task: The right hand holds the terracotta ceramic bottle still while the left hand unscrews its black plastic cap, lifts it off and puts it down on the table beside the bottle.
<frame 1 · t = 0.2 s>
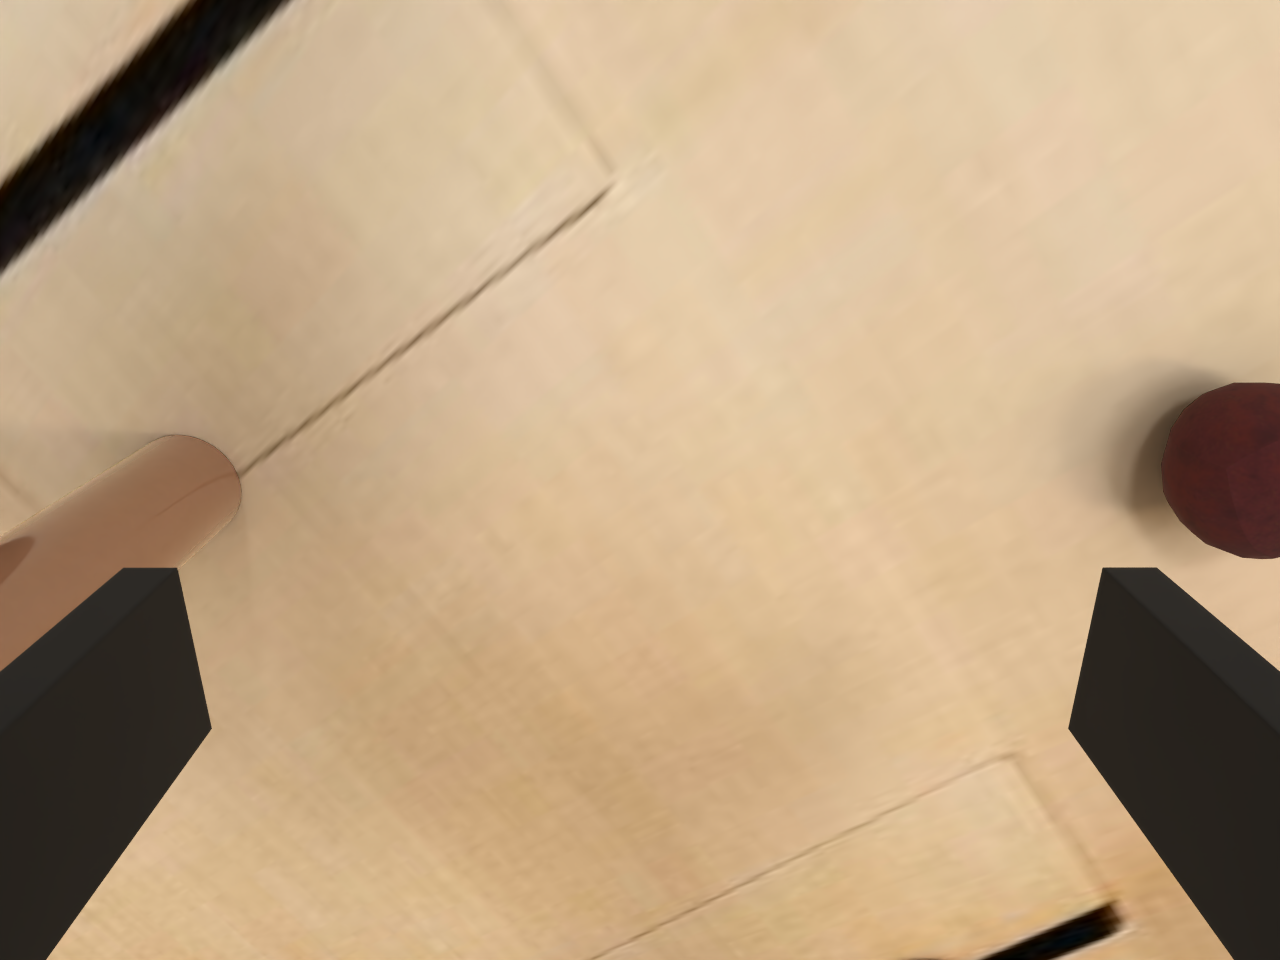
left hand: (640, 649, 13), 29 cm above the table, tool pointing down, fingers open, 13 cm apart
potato: (1205, 440, 42), on the table
bottle: (187, 485, 43), on the table
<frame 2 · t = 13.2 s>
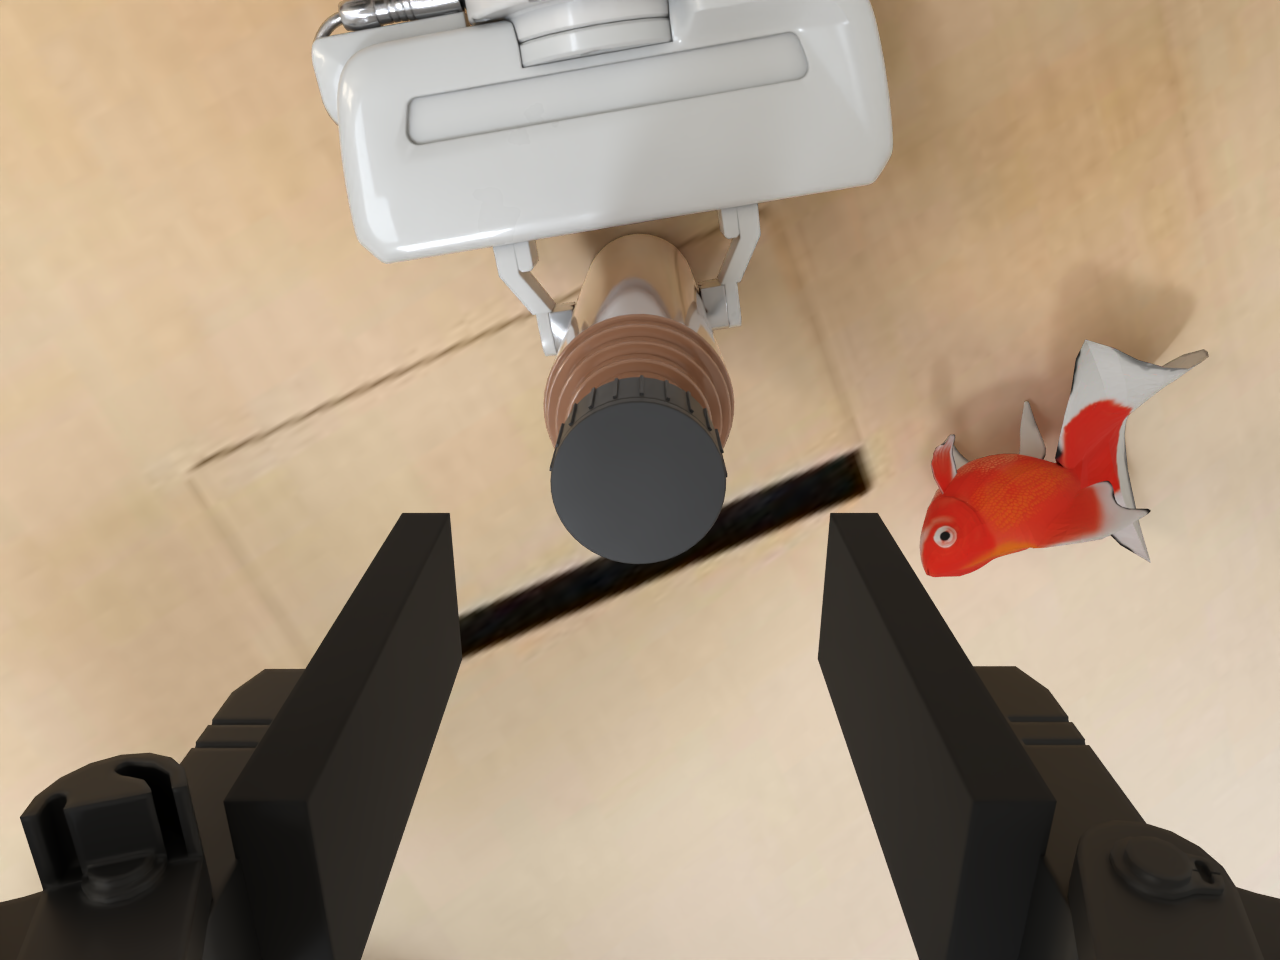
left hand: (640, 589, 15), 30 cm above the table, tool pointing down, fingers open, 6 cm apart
right hand: (644, 338, 36), fingers closed on bottle, 5 cm apart
cap: (638, 480, 19), point 25 cm above the table, screwed on, not yet turned
bottle: (639, 289, 42), on the table, touching right hand
fish: (1025, 428, 45), on the table
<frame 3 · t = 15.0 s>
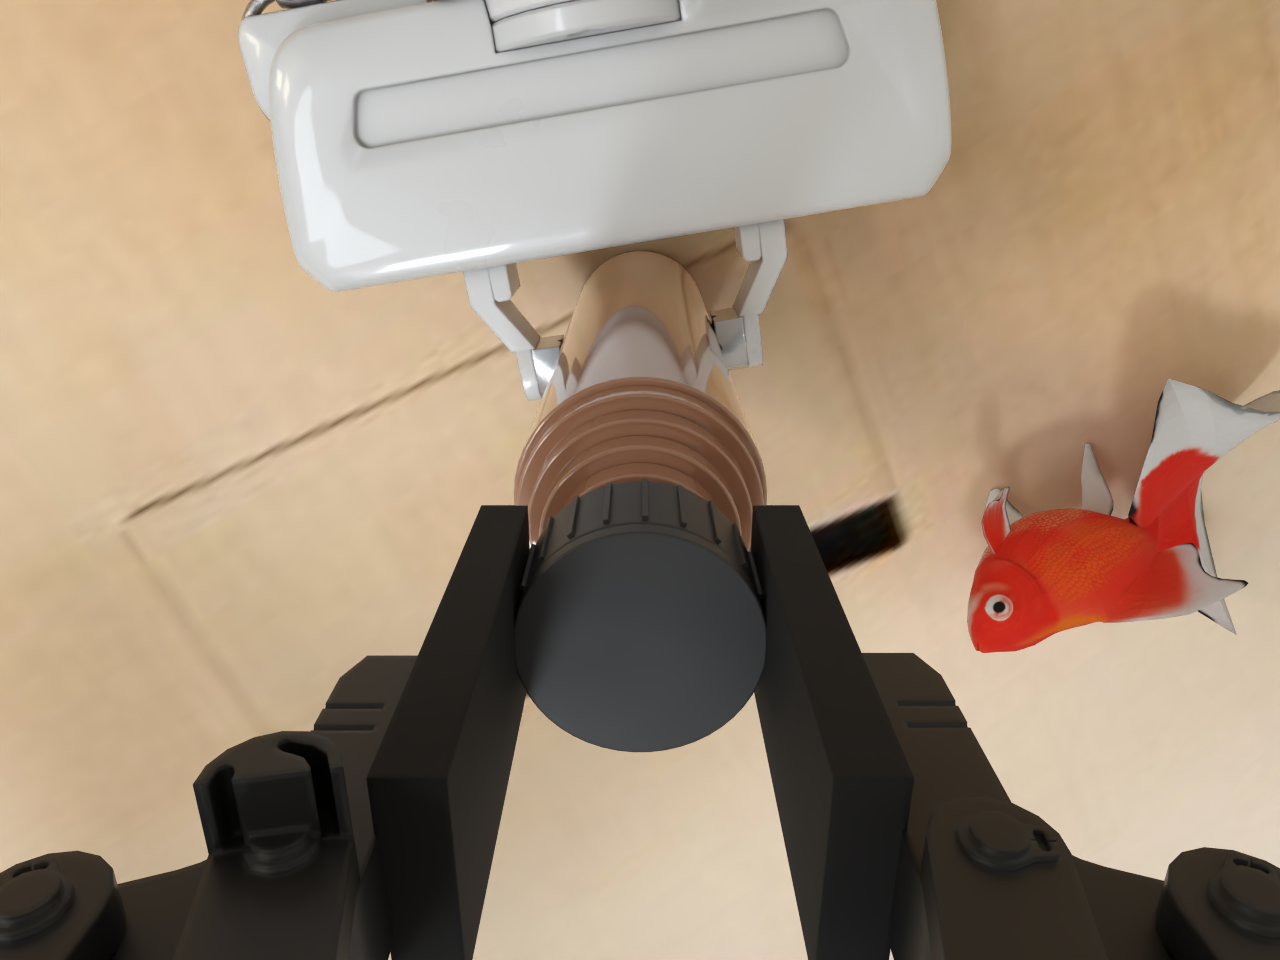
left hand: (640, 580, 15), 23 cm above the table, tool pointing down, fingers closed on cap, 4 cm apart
right hand: (645, 379, 30), fingers closed on bottle, 5 cm apart
cap: (640, 637, 13), point 25 cm above the table, screwed on, not yet turned, touching left hand
bottle: (640, 315, 36), on the table, touching right hand
fish: (1084, 474, 39), on the table
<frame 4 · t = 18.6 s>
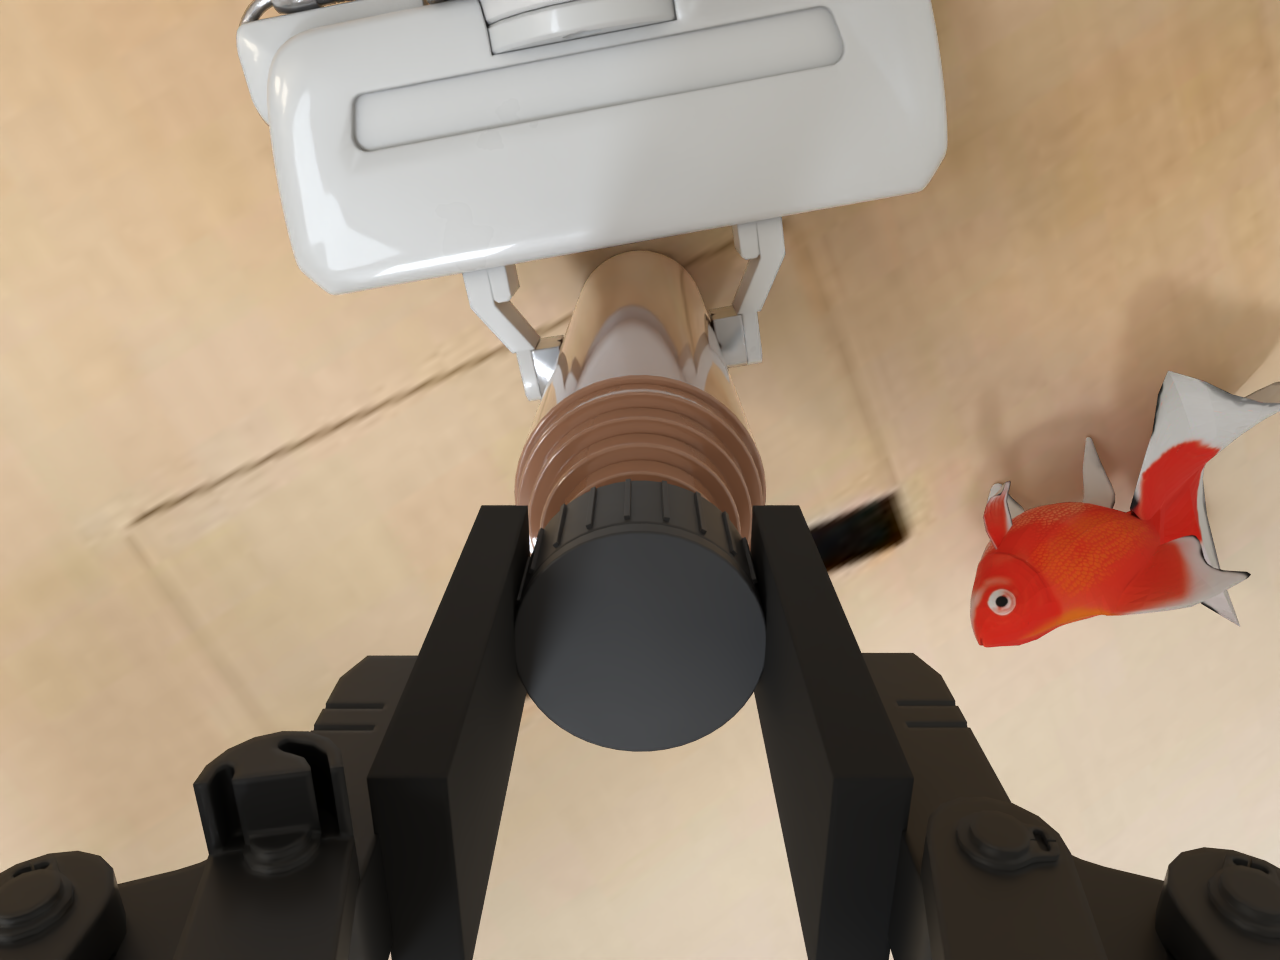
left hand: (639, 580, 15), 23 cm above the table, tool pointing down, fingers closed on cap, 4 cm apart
right hand: (645, 378, 30), fingers closed on bottle, 5 cm apart
cap: (640, 636, 13), point 25 cm above the table, turned 127° so far, risen 0.1 cm, still on its thread, touching left hand
bottle: (640, 314, 36), on the table, touching right hand
fish: (1086, 467, 39), on the table
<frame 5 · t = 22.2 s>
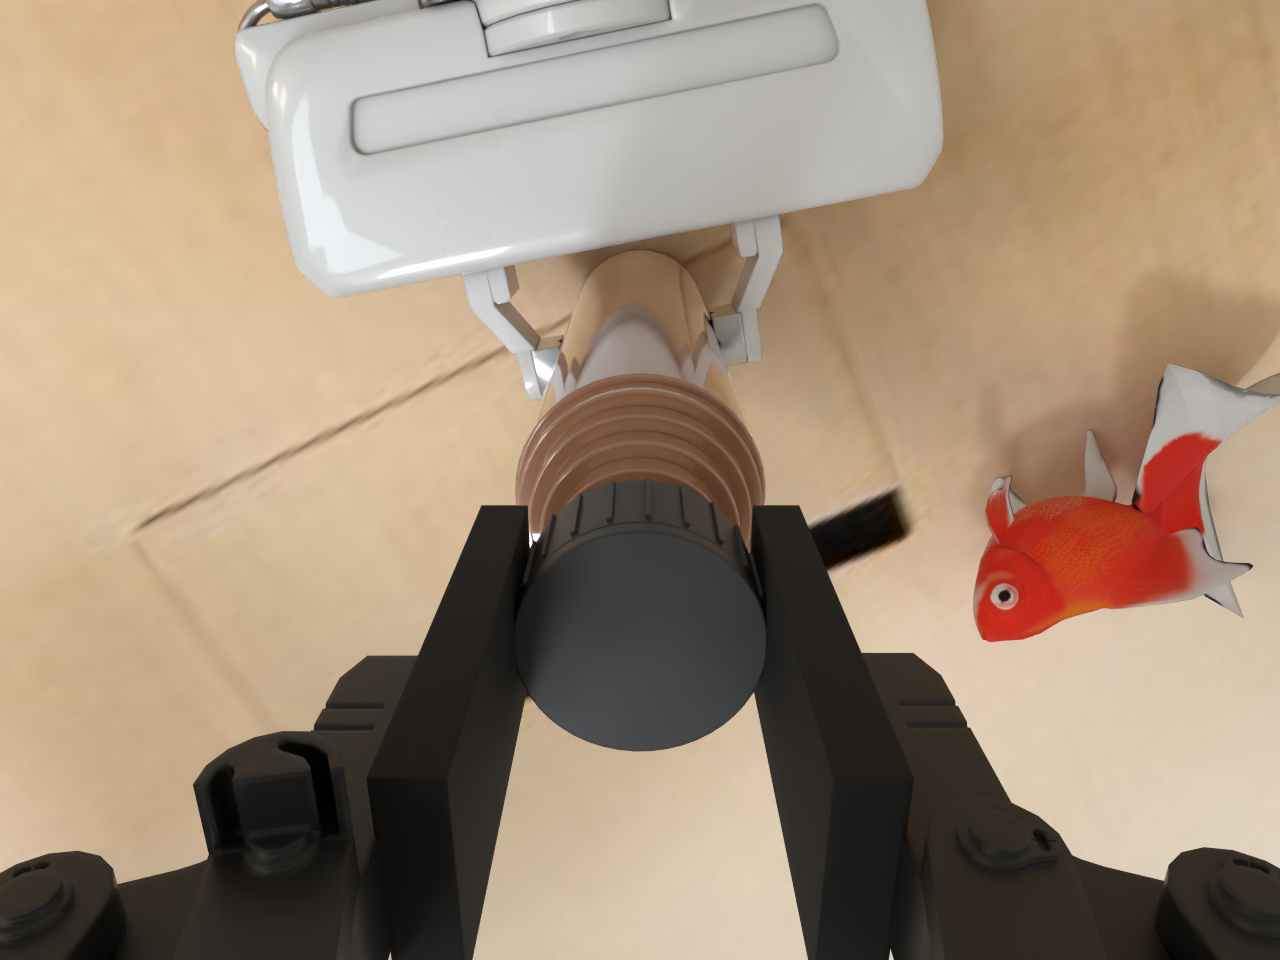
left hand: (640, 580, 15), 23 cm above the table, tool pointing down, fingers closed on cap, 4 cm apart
right hand: (646, 377, 30), fingers closed on bottle, 5 cm apart
cap: (640, 636, 13), point 25 cm above the table, turned 254° so far, risen 0.2 cm, still on its thread, touching left hand
bottle: (640, 314, 36), on the table, touching right hand
fish: (1087, 461, 39), on the table
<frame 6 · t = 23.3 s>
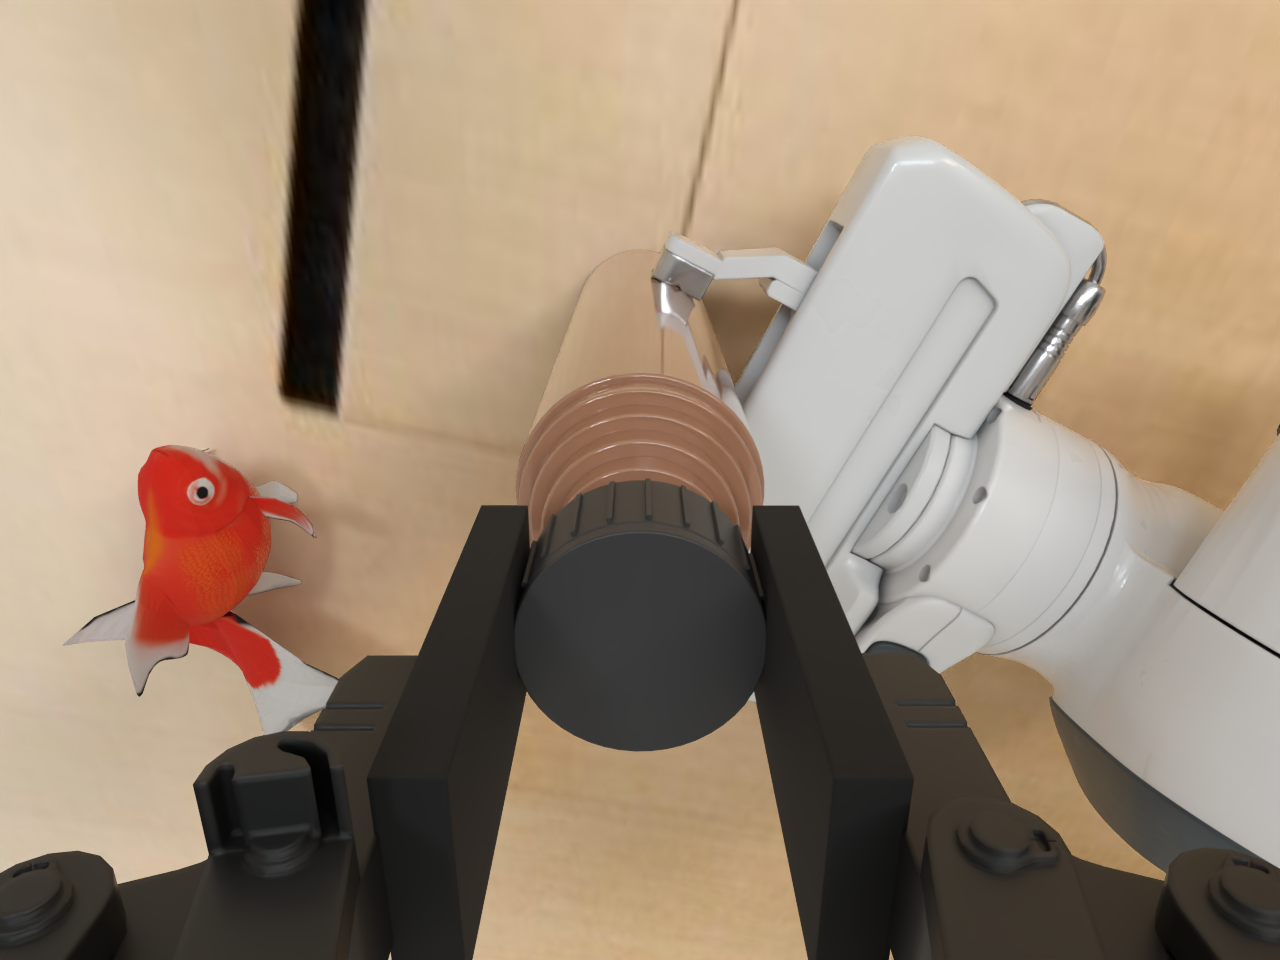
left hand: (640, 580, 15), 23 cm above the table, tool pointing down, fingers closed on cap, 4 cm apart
right hand: (616, 341, 30), fingers closed on bottle, 5 cm apart
cap: (640, 636, 13), point 25 cm above the table, off its thread, touching left hand
bottle: (640, 314, 36), on the table, touching right hand
fish: (270, 567, 41), on the table
when the left hand's fingers open (1 cm above the table, at t = 30.9 s): cap drops 1 cm, point 2 cm above the table.
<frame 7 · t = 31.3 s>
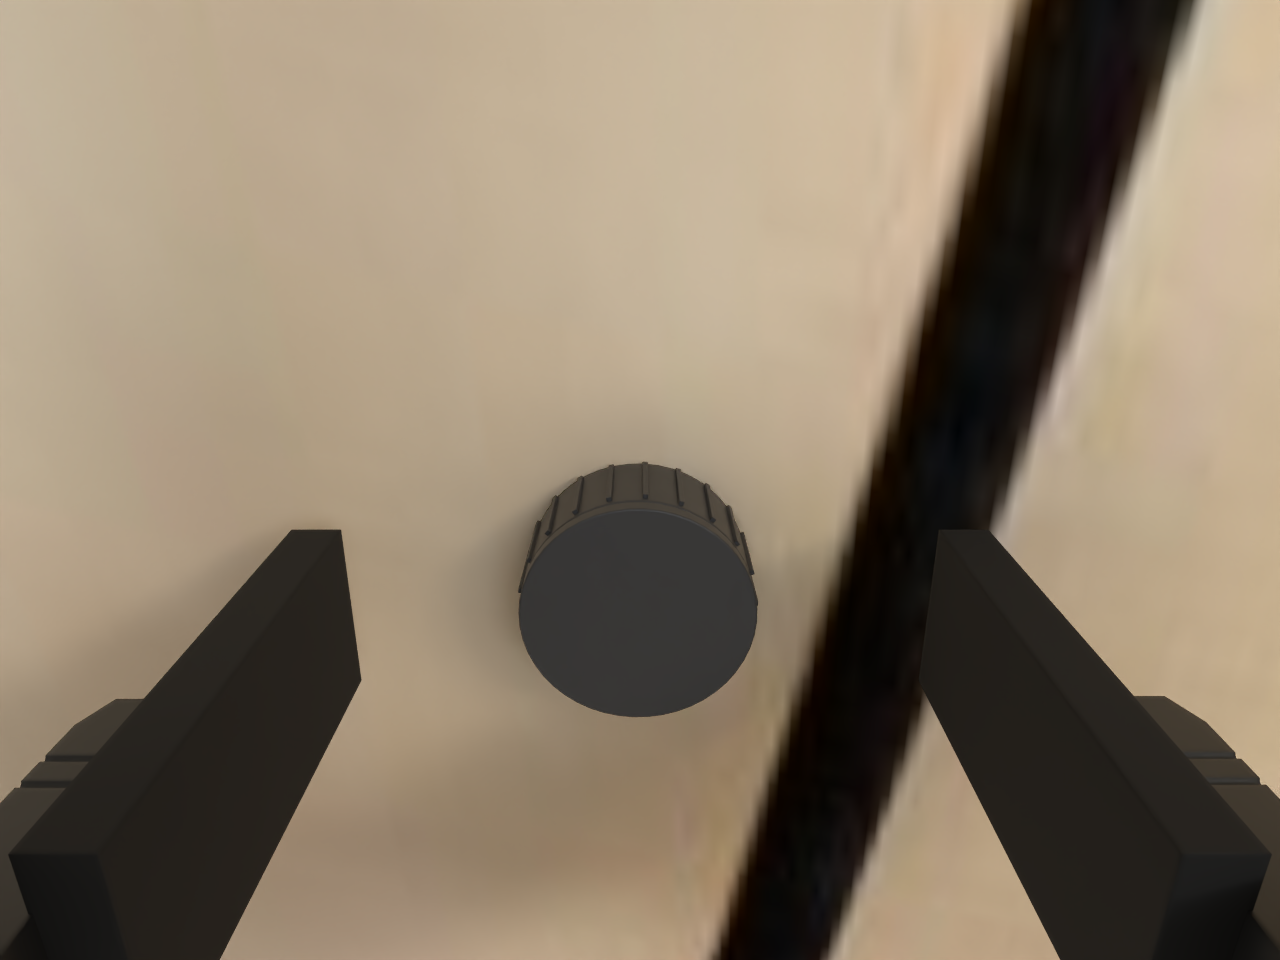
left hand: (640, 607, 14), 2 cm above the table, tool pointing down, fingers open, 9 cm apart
cap: (638, 608, 14), point 2 cm above the table, off its thread
when the right hand's fingers open (7 cm above the table, at t = 32.3 s): bottle stays where it is, on the table.
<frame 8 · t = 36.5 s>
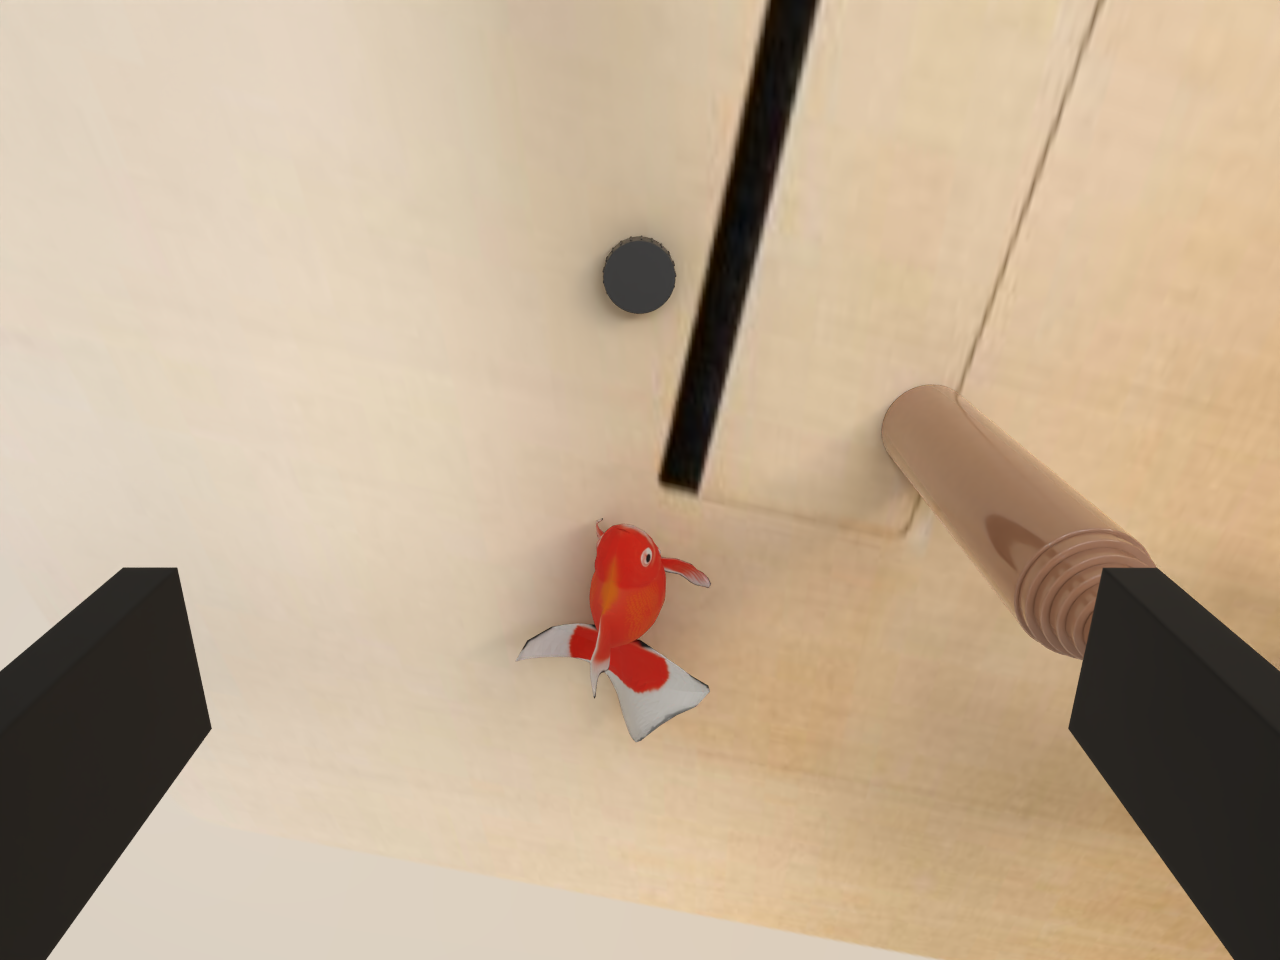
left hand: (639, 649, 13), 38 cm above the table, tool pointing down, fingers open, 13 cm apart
cap: (639, 276, 46), point 2 cm above the table, off its thread
bottle: (926, 427, 51), on the table
fish: (630, 603, 55), on the table
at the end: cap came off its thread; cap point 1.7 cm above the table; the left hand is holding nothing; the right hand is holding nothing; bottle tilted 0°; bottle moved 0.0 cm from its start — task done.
